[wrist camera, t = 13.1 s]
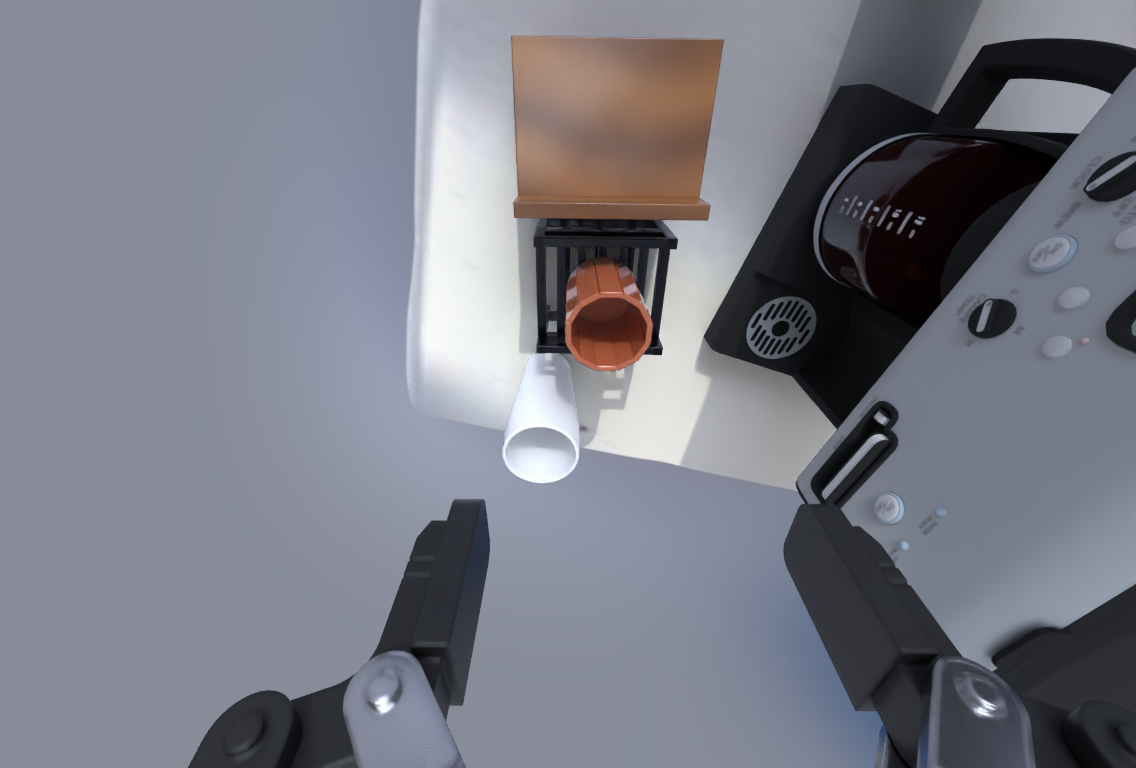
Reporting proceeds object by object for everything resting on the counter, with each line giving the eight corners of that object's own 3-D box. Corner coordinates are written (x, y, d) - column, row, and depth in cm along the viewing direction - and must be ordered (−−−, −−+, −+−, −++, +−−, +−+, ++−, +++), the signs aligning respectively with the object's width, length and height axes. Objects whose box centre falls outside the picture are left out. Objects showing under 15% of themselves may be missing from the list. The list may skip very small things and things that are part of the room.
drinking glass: (513, 346, 49) (493, 428, 36) (573, 339, 48) (575, 420, 36) (523, 397, 52) (509, 488, 40) (580, 391, 52) (584, 481, 39)
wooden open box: (524, 54, 35) (504, 27, 24) (686, 56, 35) (740, 31, 24) (529, 189, 41) (514, 218, 29) (670, 191, 41) (708, 220, 30)
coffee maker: (865, 22, 34) (2901, -616, 4) (1057, 115, 37) (3000, 118, 8) (697, 334, 48) (906, 694, 18) (848, 383, 51) (1236, 757, 21)
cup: (566, 256, 36) (566, 291, 29) (639, 257, 36) (656, 292, 29) (565, 323, 39) (565, 370, 32) (632, 324, 39) (647, 371, 32)
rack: (540, 212, 42) (533, 236, 33) (656, 214, 42) (678, 238, 33) (542, 312, 47) (536, 354, 39) (645, 313, 47) (661, 355, 39)
